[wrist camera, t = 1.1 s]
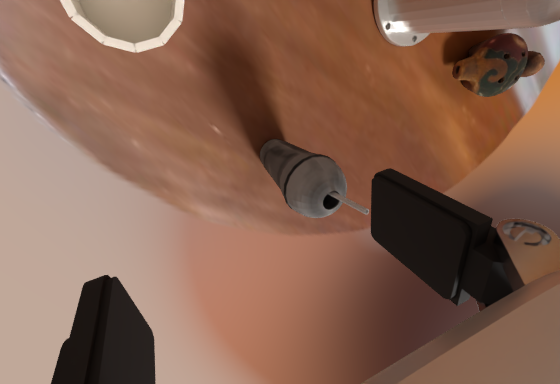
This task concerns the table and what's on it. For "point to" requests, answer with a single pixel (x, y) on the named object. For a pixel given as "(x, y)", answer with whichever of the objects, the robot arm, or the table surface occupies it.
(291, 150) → the beverage cup
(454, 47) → the table surface
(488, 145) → the table surface
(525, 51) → the decorative turtle
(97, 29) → the bowl
